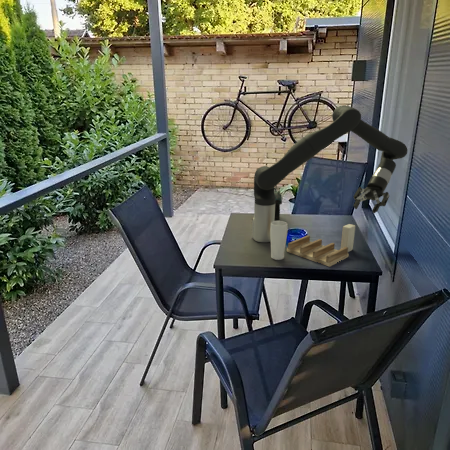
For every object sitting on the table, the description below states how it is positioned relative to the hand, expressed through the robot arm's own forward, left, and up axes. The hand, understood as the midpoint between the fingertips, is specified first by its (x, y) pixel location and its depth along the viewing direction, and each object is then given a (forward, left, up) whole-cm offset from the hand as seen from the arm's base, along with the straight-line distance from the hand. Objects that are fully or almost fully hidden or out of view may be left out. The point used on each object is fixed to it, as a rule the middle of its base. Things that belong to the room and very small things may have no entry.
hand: (364, 210), depth 171 cm
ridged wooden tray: (-6, -25, -16) cm, 30 cm away
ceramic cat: (-48, -3, -16) cm, 51 cm away
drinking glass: (-15, -40, -16) cm, 45 cm away
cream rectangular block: (0, -12, -16) cm, 19 cm away
